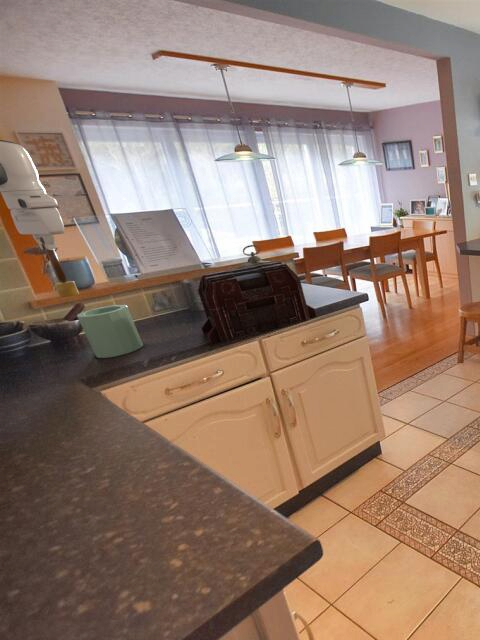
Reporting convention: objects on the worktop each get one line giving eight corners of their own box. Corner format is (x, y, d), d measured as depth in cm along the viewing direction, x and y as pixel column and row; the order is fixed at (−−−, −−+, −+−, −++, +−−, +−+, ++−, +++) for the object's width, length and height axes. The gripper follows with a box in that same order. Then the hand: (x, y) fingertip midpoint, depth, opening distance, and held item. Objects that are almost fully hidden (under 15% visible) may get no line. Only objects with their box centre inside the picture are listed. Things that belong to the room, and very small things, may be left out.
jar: (108, 359, 138) (89, 318, 132) (88, 355, 142) (69, 315, 137) (150, 345, 148) (134, 306, 142) (130, 341, 153) (114, 303, 147)
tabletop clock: (255, 309, 181) (237, 249, 172) (244, 306, 186) (225, 248, 177) (287, 299, 192) (272, 242, 183) (276, 297, 197) (260, 241, 188)
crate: (301, 308, 178) (288, 257, 170) (319, 317, 165) (305, 262, 157) (202, 333, 156) (181, 276, 148) (212, 345, 143) (191, 284, 135)
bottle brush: (64, 297, 133) (37, 237, 126) (57, 296, 134) (30, 236, 128) (82, 293, 136) (56, 234, 130) (75, 292, 138) (49, 234, 131)
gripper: (-4, 203, 127) (19, 250, 132) (29, 201, 118) (51, 252, 123) (26, 201, 132) (46, 247, 137) (59, 199, 124) (79, 248, 129)
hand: (49, 249), depth 130 cm, fingers closed on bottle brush, 2 cm apart
